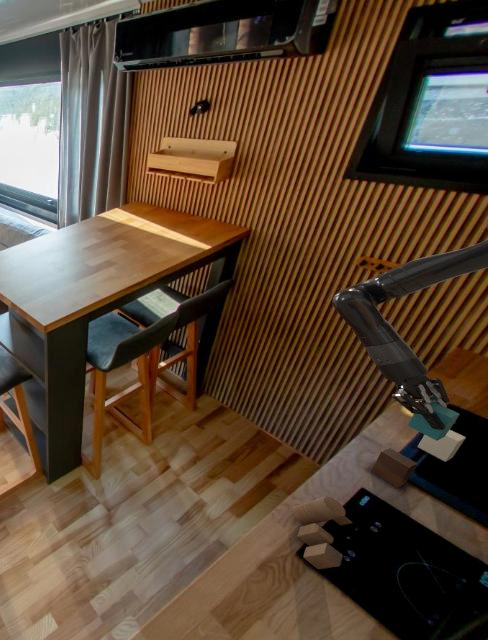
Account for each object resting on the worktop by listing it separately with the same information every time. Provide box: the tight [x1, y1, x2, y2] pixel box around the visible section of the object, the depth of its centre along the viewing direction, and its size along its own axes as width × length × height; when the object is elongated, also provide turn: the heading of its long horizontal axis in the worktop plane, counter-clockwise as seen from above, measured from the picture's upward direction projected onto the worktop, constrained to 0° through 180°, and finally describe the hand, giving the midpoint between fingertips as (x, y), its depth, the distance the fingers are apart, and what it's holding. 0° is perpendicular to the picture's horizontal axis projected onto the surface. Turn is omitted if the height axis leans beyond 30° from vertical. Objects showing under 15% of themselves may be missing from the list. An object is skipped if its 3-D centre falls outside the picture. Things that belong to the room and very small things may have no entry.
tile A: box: [417, 429, 466, 463], centre depth 97 cm, size 3×5×8 cm, turn 19°
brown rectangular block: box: [370, 447, 418, 489], centre depth 93 cm, size 3×5×8 cm, turn 17°
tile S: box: [407, 400, 461, 441], centre depth 89 cm, size 3×5×8 cm, turn 17°
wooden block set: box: [291, 496, 353, 570], centre depth 84 cm, size 18×9×10 cm, turn 130°
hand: (444, 425), depth 87 cm, fingers closed on tile S, 3 cm apart
